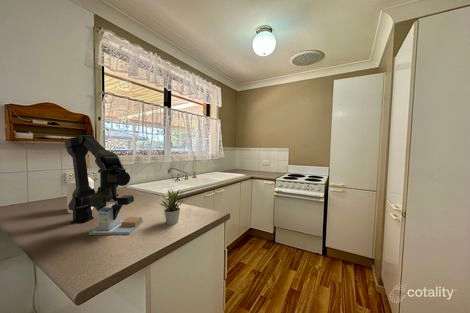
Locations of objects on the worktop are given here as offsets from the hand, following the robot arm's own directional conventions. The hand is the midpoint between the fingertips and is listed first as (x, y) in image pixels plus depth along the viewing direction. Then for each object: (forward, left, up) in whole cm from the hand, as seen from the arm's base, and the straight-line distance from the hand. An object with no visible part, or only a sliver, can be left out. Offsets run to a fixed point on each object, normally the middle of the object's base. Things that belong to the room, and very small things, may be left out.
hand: (109, 219), depth 80 cm
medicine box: (0, 0, -3) cm, 3 cm away
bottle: (-32, +26, -4) cm, 41 cm away
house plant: (+26, +7, -4) cm, 27 cm away
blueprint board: (+3, +1, -4) cm, 5 cm away
